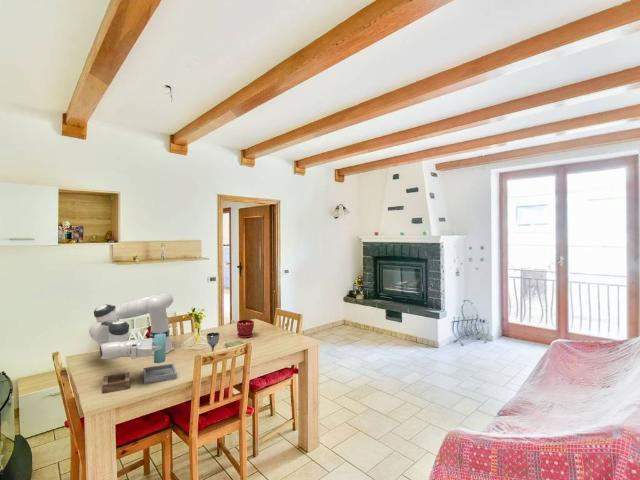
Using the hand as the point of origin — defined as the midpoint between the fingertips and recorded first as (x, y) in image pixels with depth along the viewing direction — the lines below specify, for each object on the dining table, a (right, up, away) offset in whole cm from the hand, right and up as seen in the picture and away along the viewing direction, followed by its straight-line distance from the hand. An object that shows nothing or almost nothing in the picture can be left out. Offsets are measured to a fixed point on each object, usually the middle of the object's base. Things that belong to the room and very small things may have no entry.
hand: (161, 345), depth 193 cm
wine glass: (+19, -17, +31) cm, 41 cm away
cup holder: (-18, -17, -14) cm, 28 cm away
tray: (-1, -17, 0) cm, 18 cm away
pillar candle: (-1, -9, 0) cm, 9 cm away
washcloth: (+31, -18, +50) cm, 61 cm away
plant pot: (+31, -17, +76) cm, 83 cm away
